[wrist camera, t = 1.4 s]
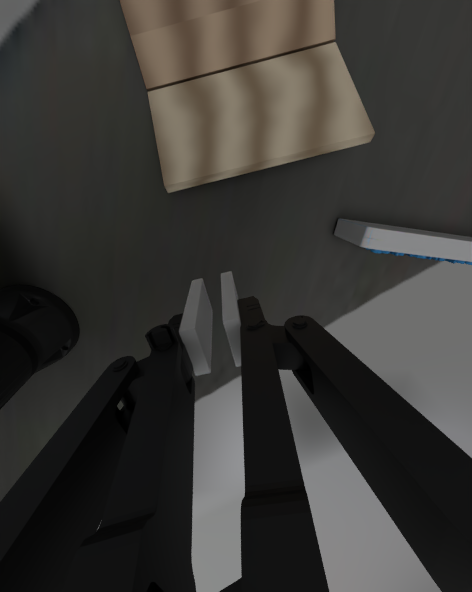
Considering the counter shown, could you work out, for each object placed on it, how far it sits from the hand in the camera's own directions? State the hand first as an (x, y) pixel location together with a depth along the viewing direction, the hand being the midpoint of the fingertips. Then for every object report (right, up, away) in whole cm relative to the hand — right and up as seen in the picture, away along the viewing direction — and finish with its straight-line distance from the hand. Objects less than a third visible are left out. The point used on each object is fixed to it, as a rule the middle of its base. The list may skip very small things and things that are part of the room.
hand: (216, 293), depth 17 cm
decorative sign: (+33, +10, +26) cm, 43 cm away
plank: (+4, +21, +12) cm, 25 cm away
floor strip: (+1, +33, +12) cm, 35 cm away
